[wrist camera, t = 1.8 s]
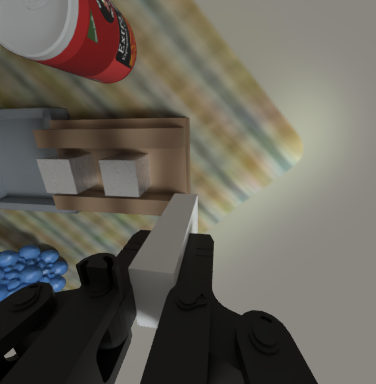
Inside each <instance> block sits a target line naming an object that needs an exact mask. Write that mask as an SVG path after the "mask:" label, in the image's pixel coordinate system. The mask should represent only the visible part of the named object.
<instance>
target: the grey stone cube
mask: <svg viewBox="0 0 376 384" xmlns="http://www.w3.org/2000/svg"><path fill="white" fill-rule="evenodd" d="M36 160H37V163H38V166H39V170H40V173H41V176H42V179H43V182H44V185H45V188H46V191H47V193H61V194H79V193H81V192H83V191H85V190H86V189H88V188H90V187H92V186H94V185H96V184H98V179H97V174H96V169H95V165H94V160H93V155H92V153H63V154H58V155H53V156H49V157H44V158H39V159H36Z"/></svg>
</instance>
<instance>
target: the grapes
mask: <svg viewBox="0 0 376 384" xmlns="http://www.w3.org/2000/svg"><path fill="white" fill-rule="evenodd" d="M58 257H59V254H58V252H57V251H55V250H52V249H48V250H45V251H43V252H41V250H40V248H39V247H38V246H36V245H27V246H23V247H22V248H20V249H19V251H18V253H17V252H15V251H10V250H7V251H3V252H0V301H2V300H3V299H5V298H6V297H8V296H9V295H11V294H12V293H14V292H16V291H17V290H19V289H21V288H23V287H25V286H28V285H30V284H33V283H38V282H46V283H49V284H50V285H51V286H52V287H53V289H54V292H57V291H60V290H61V289H62V288H63V287H64V286H65V284H66V280H65V278H64V277H62V276H60V275H63V274H64V273H65V272H66V271H67V270H68V265H67V263H65V262H64V261H57V260H58ZM55 261H57V262H55Z"/></svg>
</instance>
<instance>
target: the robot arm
mask: <svg viewBox="0 0 376 384" xmlns="http://www.w3.org/2000/svg"><path fill="white" fill-rule="evenodd" d="M197 218H198V194H177V193H175V194H174V195H173V197H172V199H171V200H170V202H169V203H168V205H167V207H166V208H165V210H164V211H163V213H162V215H161V216H160V218H159V219H158V221H157V223H156V224H155V226H154V227H153V229H152V231H149V230H140V231H139V232H137V233H136V234H134V235H133V236H132V237H131V238H130V240H129V241H128V243H127V244H126V245H125V246H124V248H123V250H121V252H120V253H119V254H118V256H117V257H115V256H114V255H113V254H110V253H98V254H95V255H91V256H89V257H87V258H85V259H83V260H81V261H80V262H79V263H78V264H76V268H77V271H78V275H79V278H80V281H81V286H80V288H78V289H73V290H67V291H61V292H54V289H53V287H52V286H51V285H50V284H49V283H46V282H38V283H33V284H30V285H28V286H25V287H23V288H21V289H19V290H17V291H16V292H14V293H12V294H11V295H9V296H8V297H6V298H5V299H3V300H2V301H0V384H114V383H115V380H116V378H117V375H118V373H119V370H120V368H121V365H122V363H123V360H124V358H125V355H126V353H127V350H128V348H129V345H130V343H131V338H132V333H131V327H132V324H133V321H134V320H135V317H137V323H138V325H140V326H146V327H152V328H157V330H156V334H155V337H154V340H153V344H152V346H151V350H150V353H149V357H148V359H147V363H146V366H145V370H144V373H143V376H142V379H141V382H140V384H318V383H317V381H316V380H315V378H314V376H313V374H312V372H311V370H310V369H309V367H308V365H307V363H306V361H305V360H304V358H303V356H302V354H301V352H300V351H299V349H298V347H297V345H296V343H295V342H294V340H293V338H292V336H291V334H290V333H289V332H288V330H287V329H286V327H285V326H284V325H283V323H281V322H280V321H279V320H278V319H276V318H275V317H274V316H272V315H270V314H268V313H266V312H263V311H255V310H252V311H249V312H246V313H244V314H243V315H240V314H237V313H235V312H233V311H231V310H229V309H227V308H226V307H224V306H222V304H221V303H219V302H218V300H217V299H216V298H215V296H214V294H213V291H212V273H213V250H214V241H213V239H212V237H211V236H210V235H208V234H197ZM12 348H14V350H15V352H16V353H17V354H15V355H14V356H12V357H9V358H5V357H4V355H5V354H7V352H9V351H10V350H11V349H12Z"/></svg>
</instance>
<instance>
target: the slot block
mask: <svg viewBox="0 0 376 384" xmlns="http://www.w3.org/2000/svg"><path fill="white" fill-rule="evenodd" d="M49 124H50V128H51V129H40V130H32V131H33V134H34V137H35V141H36V144H37V147H38V148H56V150H57V153H58V154H63V153H92V155H93V160H94V165H95V169H96V174H97V179H98V184H96V185H94V186H92V187H90V188H88V189H86V190H85V191H83V192H81V193H79V194H61V193H57V194H55V195H53V199H54V202H55V205H56V209H57V210H74V211H91V212H108V213H124V214H141V215H158V216H161V215H162V213H163V211H164V210H165V208H166V207H167V205H168V203H169V202H170V200H171V199H172V197H173V195H174V194H175V193H177V194H190V121H189V118H143V119H94V120H49ZM115 154H149V164H150V174H151V186H150V187H149V188H148V189H147V190H146V191H145V192H144V193H143V194H142V195H141V196H140V197H128V196H105V190H104V185H103V180H102V175H101V170H100V165H99V160H100V159H103V158H106V157H109V156H112V155H115Z"/></svg>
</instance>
